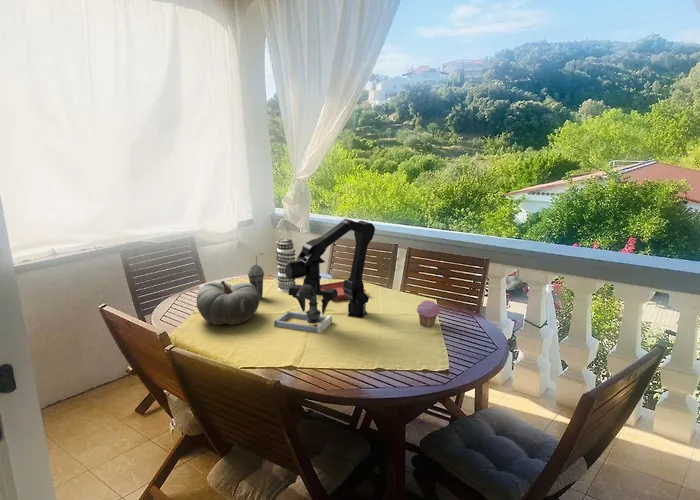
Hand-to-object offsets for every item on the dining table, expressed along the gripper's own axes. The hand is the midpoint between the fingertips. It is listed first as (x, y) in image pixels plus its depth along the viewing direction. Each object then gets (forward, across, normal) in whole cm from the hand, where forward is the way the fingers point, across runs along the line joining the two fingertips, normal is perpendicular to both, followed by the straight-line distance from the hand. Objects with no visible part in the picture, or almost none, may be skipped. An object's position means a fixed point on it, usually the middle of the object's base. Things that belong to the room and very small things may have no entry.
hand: (313, 312), depth 194 cm
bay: (+6, -5, 0) cm, 7 cm away
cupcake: (+6, +42, +16) cm, 46 cm away
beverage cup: (+6, -38, +20) cm, 43 cm away
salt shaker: (+4, 0, 0) cm, 4 cm away
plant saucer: (+6, -4, +39) cm, 40 cm away
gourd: (+6, -36, -5) cm, 36 cm away
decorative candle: (+6, -31, +36) cm, 48 cm away
